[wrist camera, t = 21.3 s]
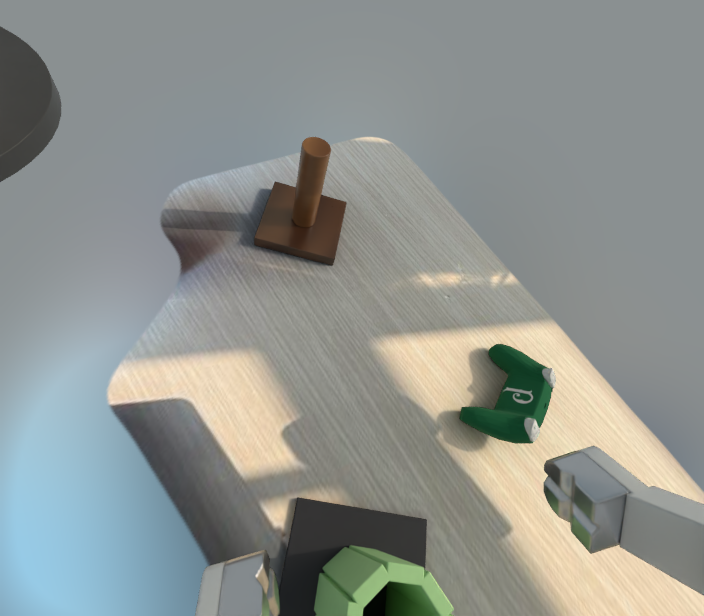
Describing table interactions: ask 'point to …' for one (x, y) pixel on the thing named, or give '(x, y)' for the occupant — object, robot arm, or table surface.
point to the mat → (331, 537)
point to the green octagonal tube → (377, 585)
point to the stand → (304, 211)
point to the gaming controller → (515, 398)
